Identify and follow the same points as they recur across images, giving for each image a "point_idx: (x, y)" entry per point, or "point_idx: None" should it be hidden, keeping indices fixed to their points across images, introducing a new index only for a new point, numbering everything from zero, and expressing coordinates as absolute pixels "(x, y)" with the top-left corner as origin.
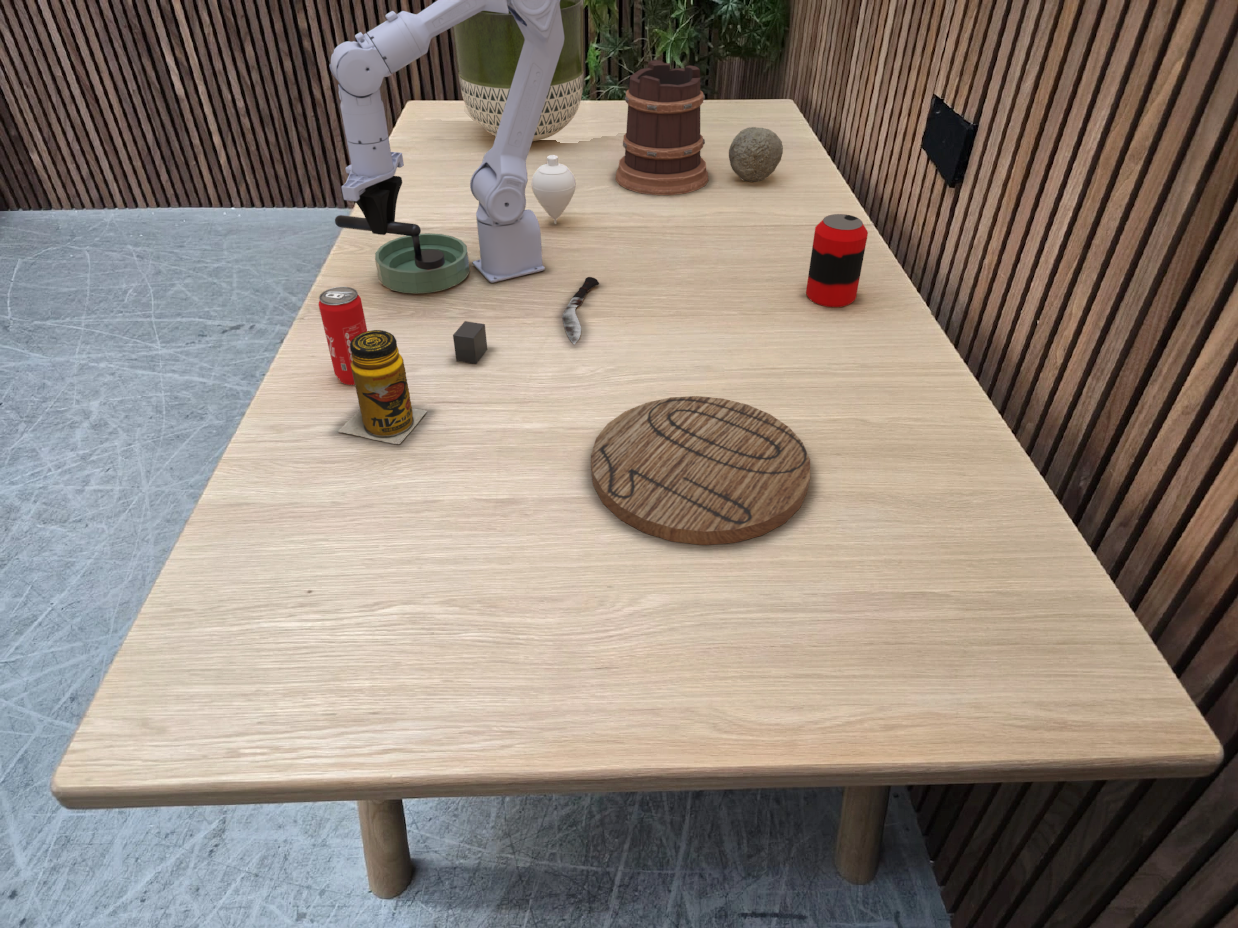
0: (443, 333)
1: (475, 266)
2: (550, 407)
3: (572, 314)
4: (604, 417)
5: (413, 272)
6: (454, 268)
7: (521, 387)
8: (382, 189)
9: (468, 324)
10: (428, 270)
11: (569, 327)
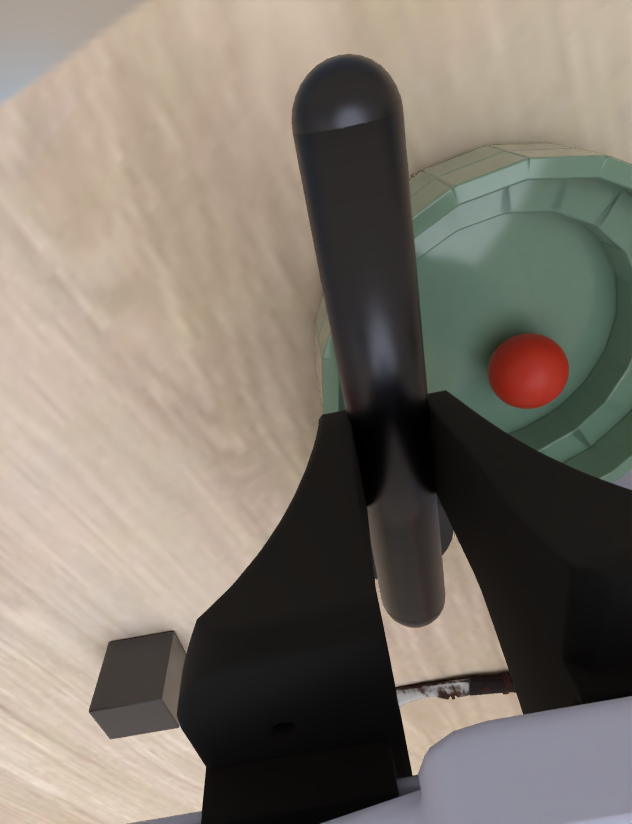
0: (190, 566)
1: None
2: (103, 781)
3: (399, 702)
4: (135, 820)
5: None
6: None
7: (119, 740)
8: (533, 666)
9: (153, 710)
10: None
11: None
